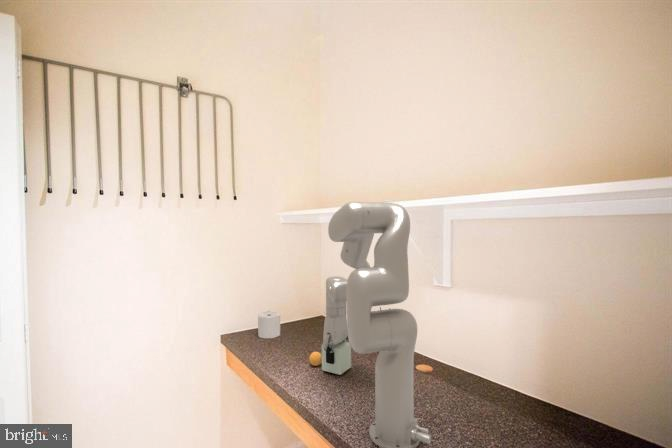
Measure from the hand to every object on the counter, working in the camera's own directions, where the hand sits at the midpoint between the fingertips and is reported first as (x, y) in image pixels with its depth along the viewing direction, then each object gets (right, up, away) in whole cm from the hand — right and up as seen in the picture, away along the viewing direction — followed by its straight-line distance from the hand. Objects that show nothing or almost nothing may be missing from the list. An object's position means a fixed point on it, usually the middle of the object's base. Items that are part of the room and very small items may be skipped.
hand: (336, 358), depth 119 cm
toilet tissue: (-33, -5, +41) cm, 53 cm away
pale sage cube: (0, -3, 0) cm, 3 cm away
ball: (-8, -2, +5) cm, 10 cm away
